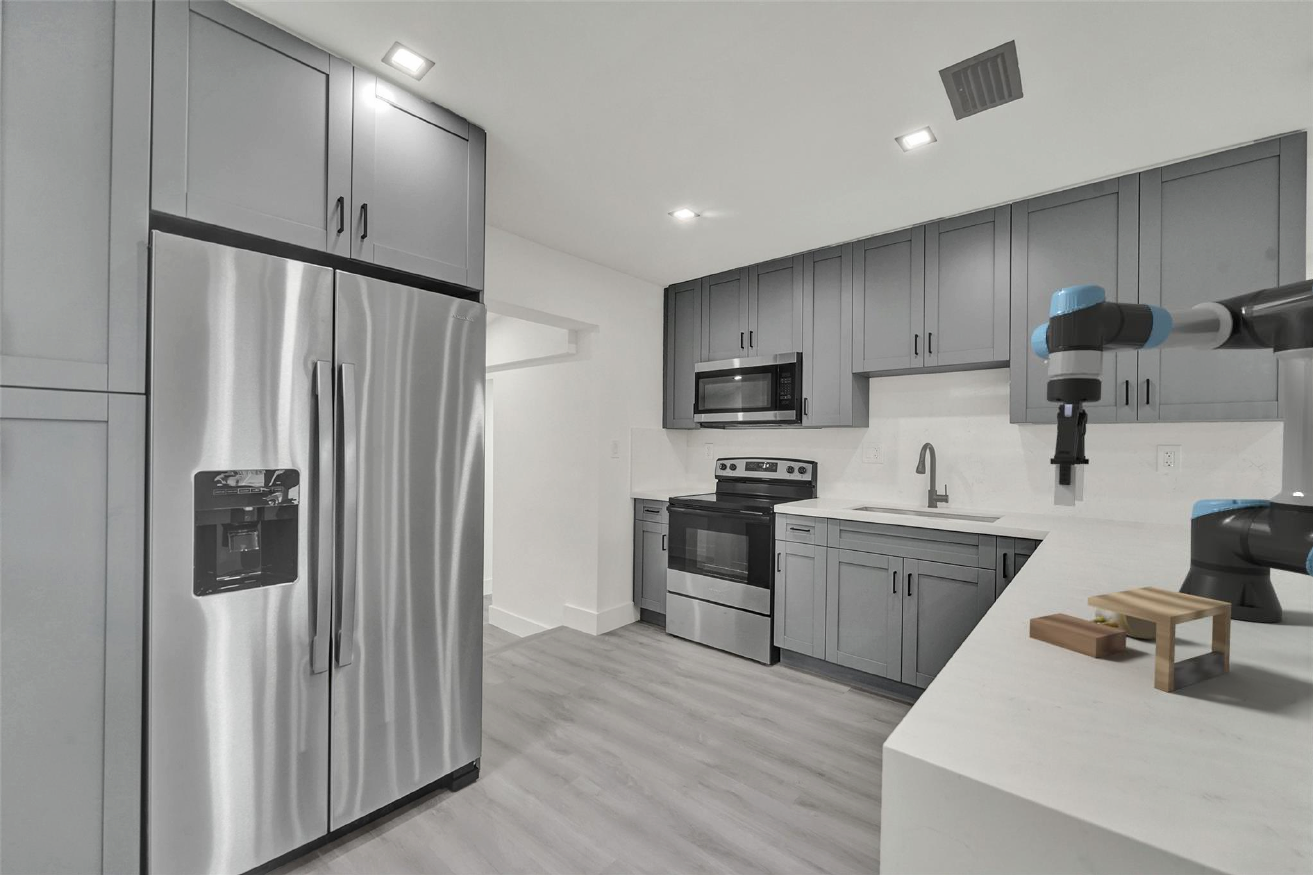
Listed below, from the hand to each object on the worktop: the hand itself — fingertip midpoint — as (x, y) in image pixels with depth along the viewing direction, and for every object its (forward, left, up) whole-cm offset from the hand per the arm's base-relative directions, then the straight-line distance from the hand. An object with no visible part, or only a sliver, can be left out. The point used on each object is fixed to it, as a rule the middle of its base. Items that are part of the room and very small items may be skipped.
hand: (1068, 503), depth 98 cm
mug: (-14, +2, -24) cm, 27 cm away
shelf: (+1, +13, -23) cm, 27 cm away
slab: (+1, +2, -24) cm, 24 cm away
